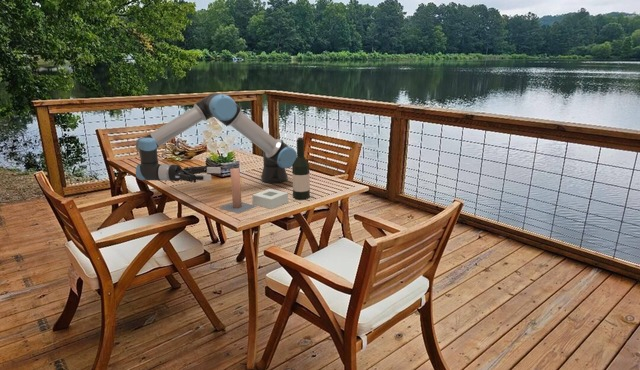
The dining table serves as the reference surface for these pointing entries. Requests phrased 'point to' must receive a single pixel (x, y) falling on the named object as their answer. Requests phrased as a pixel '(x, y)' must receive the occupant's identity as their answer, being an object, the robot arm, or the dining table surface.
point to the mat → (237, 210)
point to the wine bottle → (301, 174)
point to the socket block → (270, 198)
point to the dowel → (236, 188)
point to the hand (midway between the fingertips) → (216, 174)
